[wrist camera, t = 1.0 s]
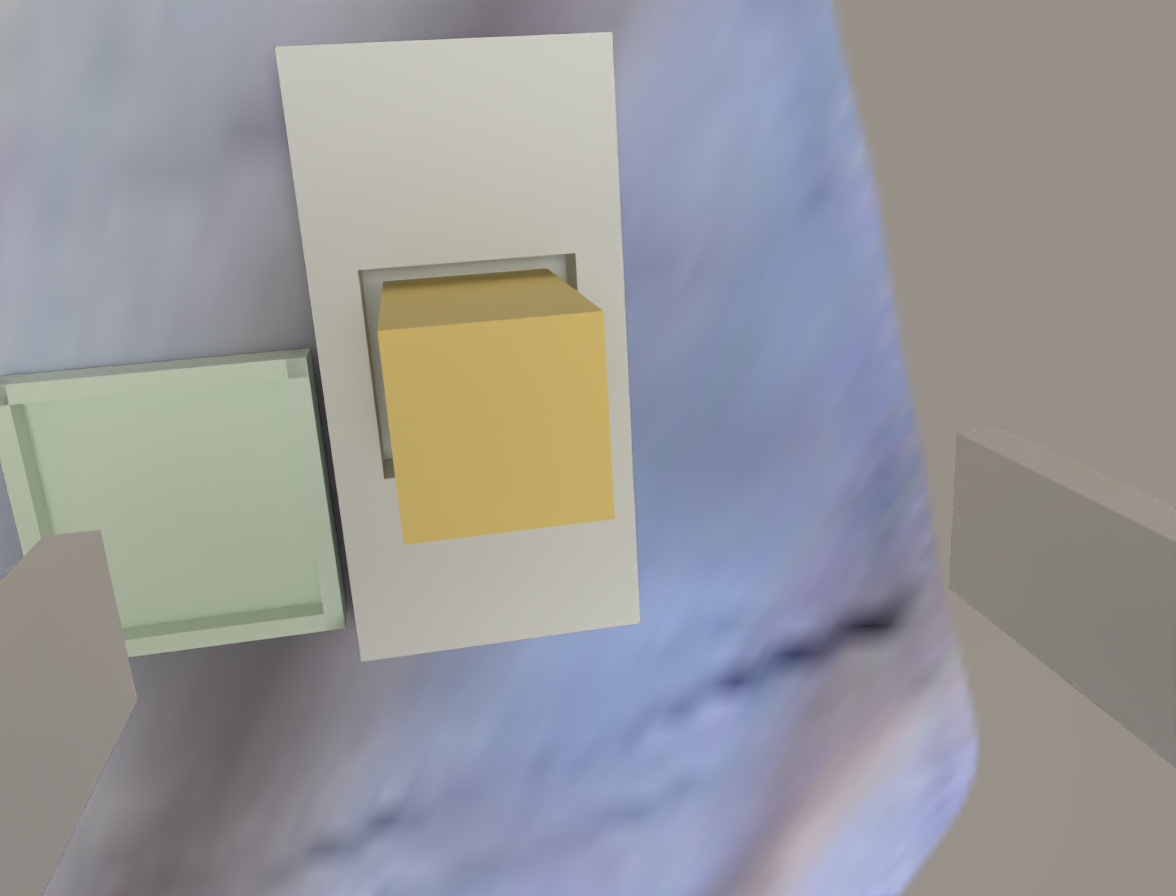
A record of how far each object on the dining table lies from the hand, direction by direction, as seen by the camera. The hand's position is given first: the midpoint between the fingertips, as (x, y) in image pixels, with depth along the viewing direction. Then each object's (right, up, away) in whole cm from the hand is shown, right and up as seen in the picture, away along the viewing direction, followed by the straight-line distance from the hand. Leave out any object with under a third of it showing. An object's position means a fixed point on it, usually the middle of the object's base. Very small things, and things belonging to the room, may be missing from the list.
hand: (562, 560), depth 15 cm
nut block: (-3, +5, +16) cm, 17 cm away
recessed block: (-3, +5, +17) cm, 18 cm away
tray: (-12, 0, +16) cm, 21 cm away
